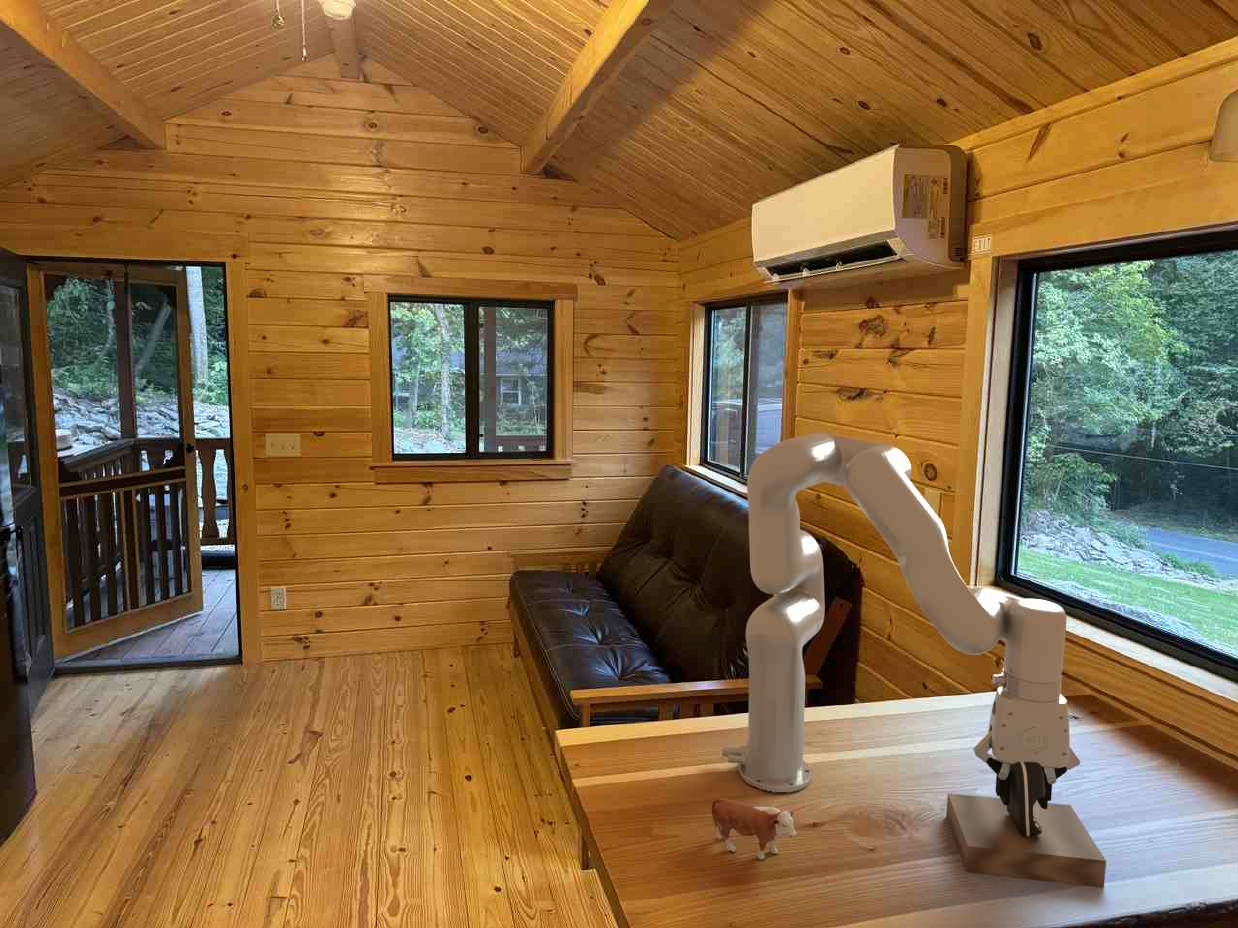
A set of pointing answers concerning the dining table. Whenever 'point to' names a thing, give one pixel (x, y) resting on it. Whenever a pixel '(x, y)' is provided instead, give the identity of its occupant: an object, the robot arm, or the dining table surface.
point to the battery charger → (1025, 796)
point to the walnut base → (1024, 842)
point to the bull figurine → (752, 823)
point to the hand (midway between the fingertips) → (1022, 800)
